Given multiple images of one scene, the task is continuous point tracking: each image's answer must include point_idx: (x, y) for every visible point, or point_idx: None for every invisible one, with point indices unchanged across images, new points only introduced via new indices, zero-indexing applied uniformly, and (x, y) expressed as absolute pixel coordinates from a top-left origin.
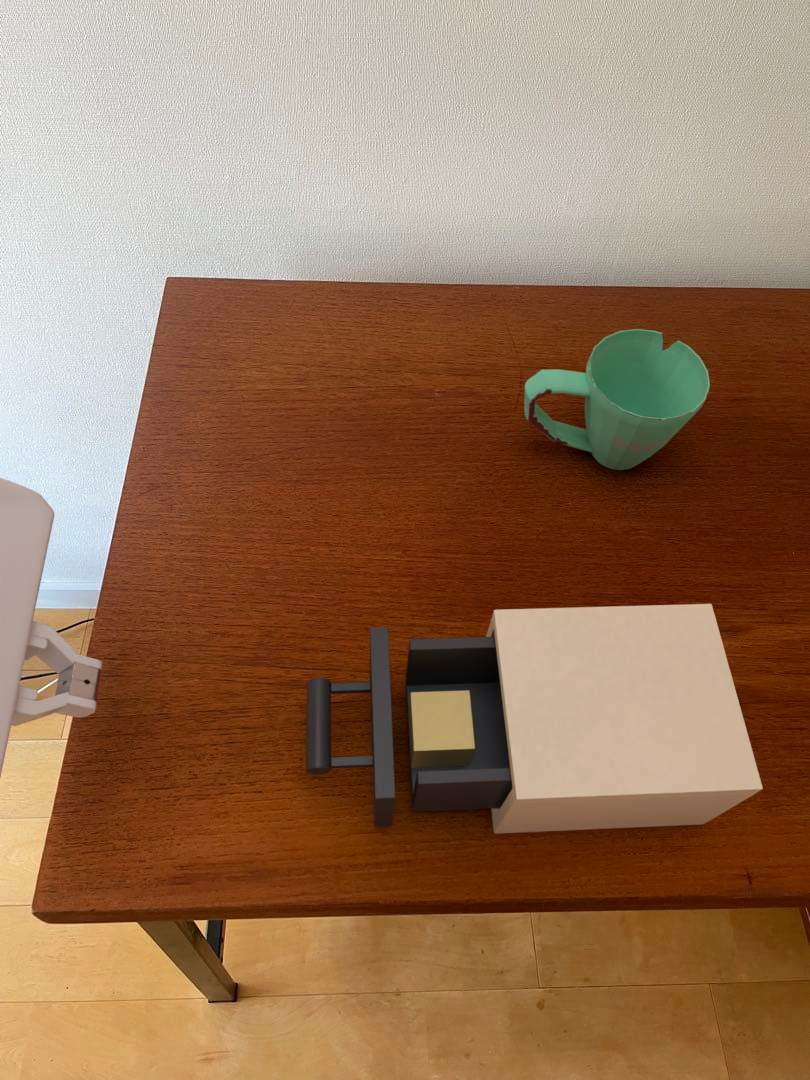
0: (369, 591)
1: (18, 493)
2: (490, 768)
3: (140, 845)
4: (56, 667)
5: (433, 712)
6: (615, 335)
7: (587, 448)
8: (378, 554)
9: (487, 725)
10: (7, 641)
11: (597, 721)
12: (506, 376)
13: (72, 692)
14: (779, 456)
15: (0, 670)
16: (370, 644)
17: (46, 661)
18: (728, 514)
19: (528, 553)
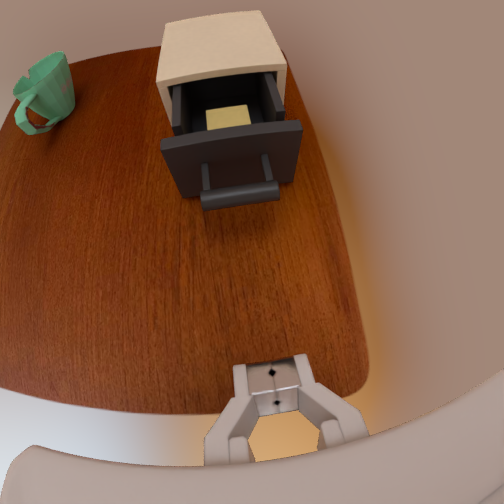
0: (121, 214)
1: (11, 486)
2: (266, 80)
3: (328, 341)
4: (254, 420)
5: (223, 125)
6: (14, 91)
7: (59, 116)
8: (96, 213)
9: None
10: (268, 493)
11: (233, 41)
12: (13, 168)
13: (297, 383)
14: (88, 62)
15: (332, 481)
16: (175, 147)
17: (248, 435)
18: (109, 69)
19: (109, 132)
